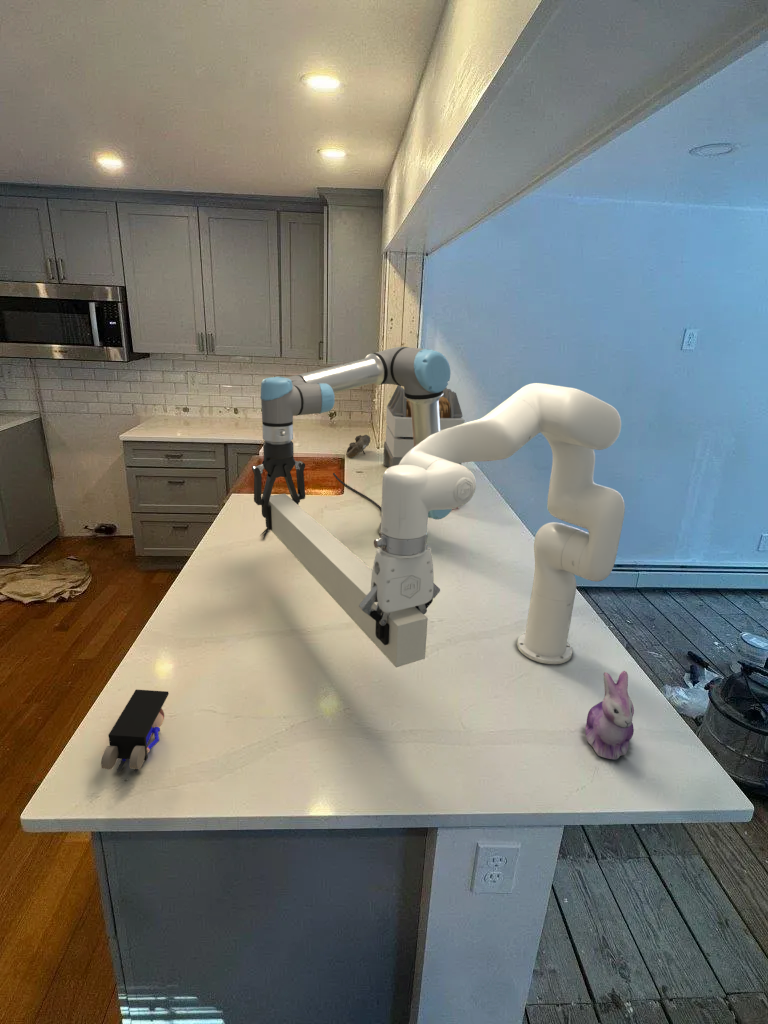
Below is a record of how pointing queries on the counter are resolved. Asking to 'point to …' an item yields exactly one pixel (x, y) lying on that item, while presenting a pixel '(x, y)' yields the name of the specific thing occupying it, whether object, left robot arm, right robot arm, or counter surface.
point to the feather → (265, 532)
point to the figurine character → (135, 730)
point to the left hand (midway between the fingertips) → (280, 526)
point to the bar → (346, 579)
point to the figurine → (611, 719)
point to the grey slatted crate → (401, 423)
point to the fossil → (358, 446)
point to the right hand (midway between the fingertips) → (399, 635)
